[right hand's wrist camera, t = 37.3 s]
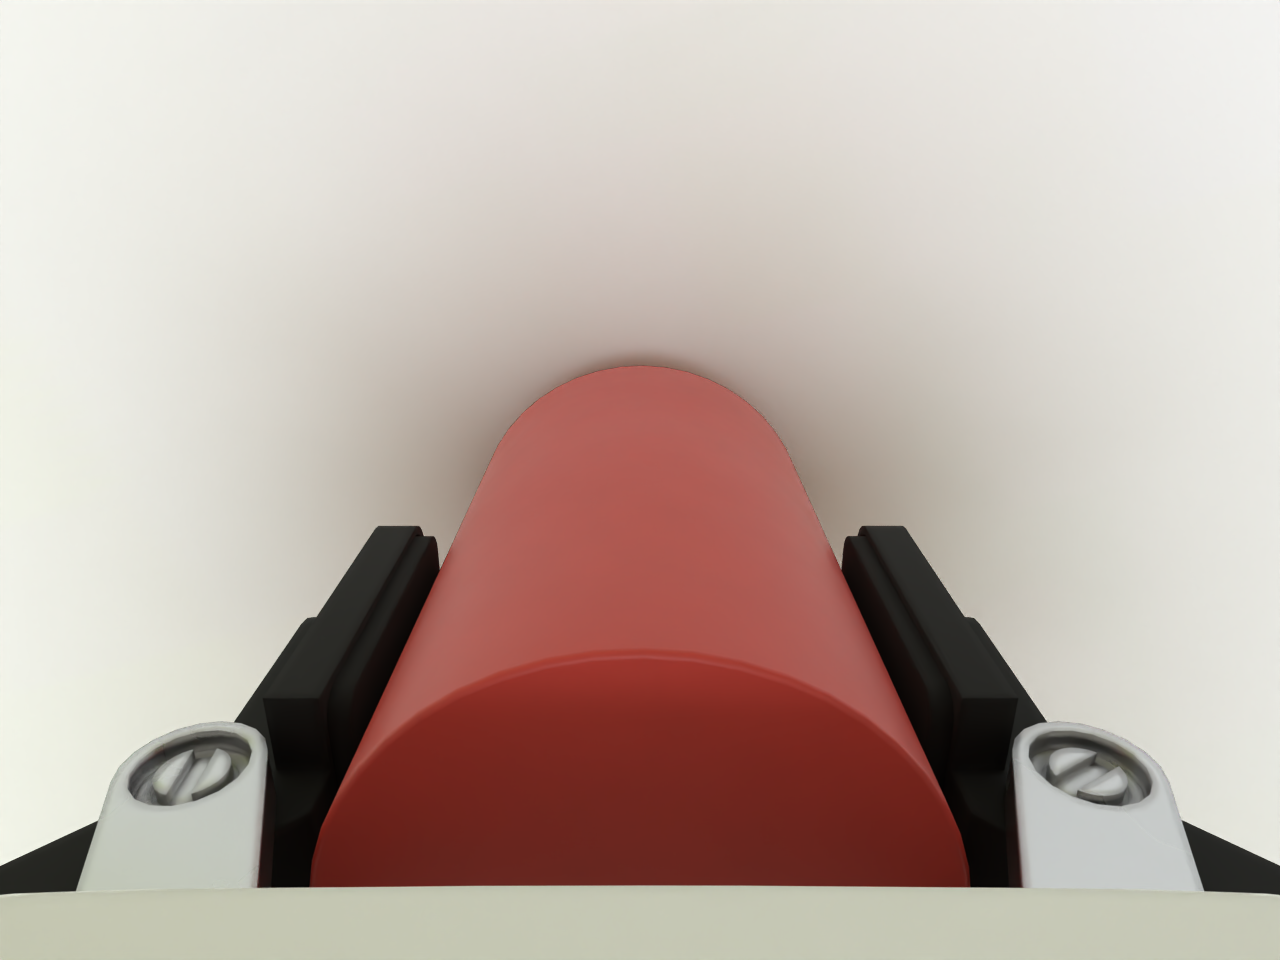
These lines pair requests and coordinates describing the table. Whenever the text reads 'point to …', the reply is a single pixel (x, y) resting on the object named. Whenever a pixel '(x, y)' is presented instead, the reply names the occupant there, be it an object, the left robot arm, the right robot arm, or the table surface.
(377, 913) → the right robot arm
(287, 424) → the table surface
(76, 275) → the table surface
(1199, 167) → the table surface
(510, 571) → the canister
